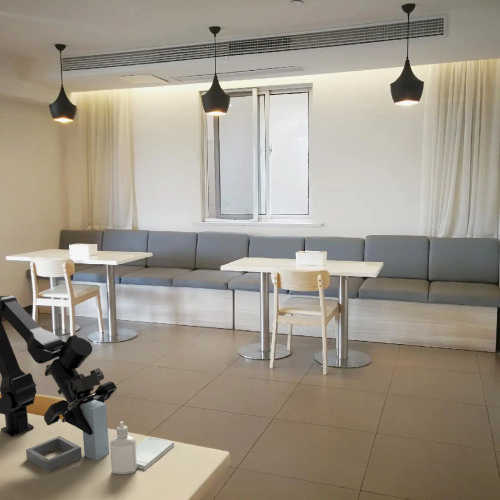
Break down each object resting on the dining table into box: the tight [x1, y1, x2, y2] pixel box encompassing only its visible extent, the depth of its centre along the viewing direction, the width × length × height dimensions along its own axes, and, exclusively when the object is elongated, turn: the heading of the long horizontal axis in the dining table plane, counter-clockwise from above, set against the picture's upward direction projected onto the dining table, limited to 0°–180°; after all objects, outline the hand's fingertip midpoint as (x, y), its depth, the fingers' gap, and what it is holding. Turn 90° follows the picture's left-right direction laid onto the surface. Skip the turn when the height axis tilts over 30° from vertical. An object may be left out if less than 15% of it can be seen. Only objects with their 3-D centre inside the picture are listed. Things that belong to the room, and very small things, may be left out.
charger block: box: [81, 400, 110, 461], centre depth 129 cm, size 4×4×13 cm
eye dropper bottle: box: [109, 420, 138, 475], centre depth 121 cm, size 4×6×12 cm
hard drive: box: [136, 436, 175, 471], centre depth 129 cm, size 2×8×12 cm
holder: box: [25, 435, 83, 473], centre depth 129 cm, size 10×9×2 cm
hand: (98, 430), depth 128 cm, fingers open, 4 cm apart
